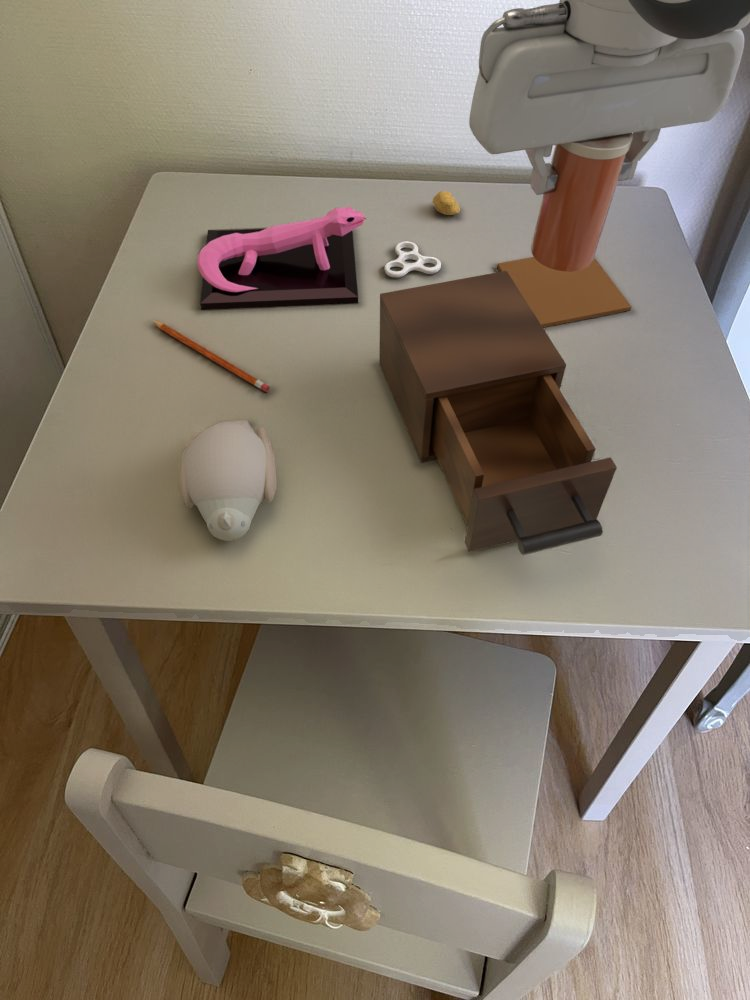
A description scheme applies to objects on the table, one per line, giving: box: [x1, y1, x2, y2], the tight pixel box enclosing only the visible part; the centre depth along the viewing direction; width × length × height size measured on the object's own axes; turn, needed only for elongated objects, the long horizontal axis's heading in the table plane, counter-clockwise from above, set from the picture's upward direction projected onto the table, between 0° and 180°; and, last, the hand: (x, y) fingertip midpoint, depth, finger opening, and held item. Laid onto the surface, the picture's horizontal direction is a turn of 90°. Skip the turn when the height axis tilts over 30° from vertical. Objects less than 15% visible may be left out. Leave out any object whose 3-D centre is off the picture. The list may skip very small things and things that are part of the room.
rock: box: [432, 190, 461, 216], centre depth 102 cm, size 4×4×3 cm
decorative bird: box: [178, 419, 278, 542], centre depth 72 cm, size 9×16×8 cm, turn 9°
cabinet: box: [378, 271, 567, 464], centre depth 78 cm, size 15×14×10 cm
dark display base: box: [196, 206, 367, 311], centre depth 92 cm, size 15×20×7 cm
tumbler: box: [530, 133, 633, 272], centre depth 65 cm, size 6×6×11 cm
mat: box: [496, 256, 632, 329], centre depth 93 cm, size 12×12×1 cm
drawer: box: [430, 374, 617, 556], centre depth 70 cm, size 18×12×8 cm
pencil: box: [152, 320, 271, 393], centre depth 85 cm, size 1×18×1 cm, turn 51°
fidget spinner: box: [383, 240, 442, 279], centre depth 96 cm, size 7×6×1 cm
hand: (581, 183), depth 64 cm, fingers closed on tumbler, 6 cm apart
